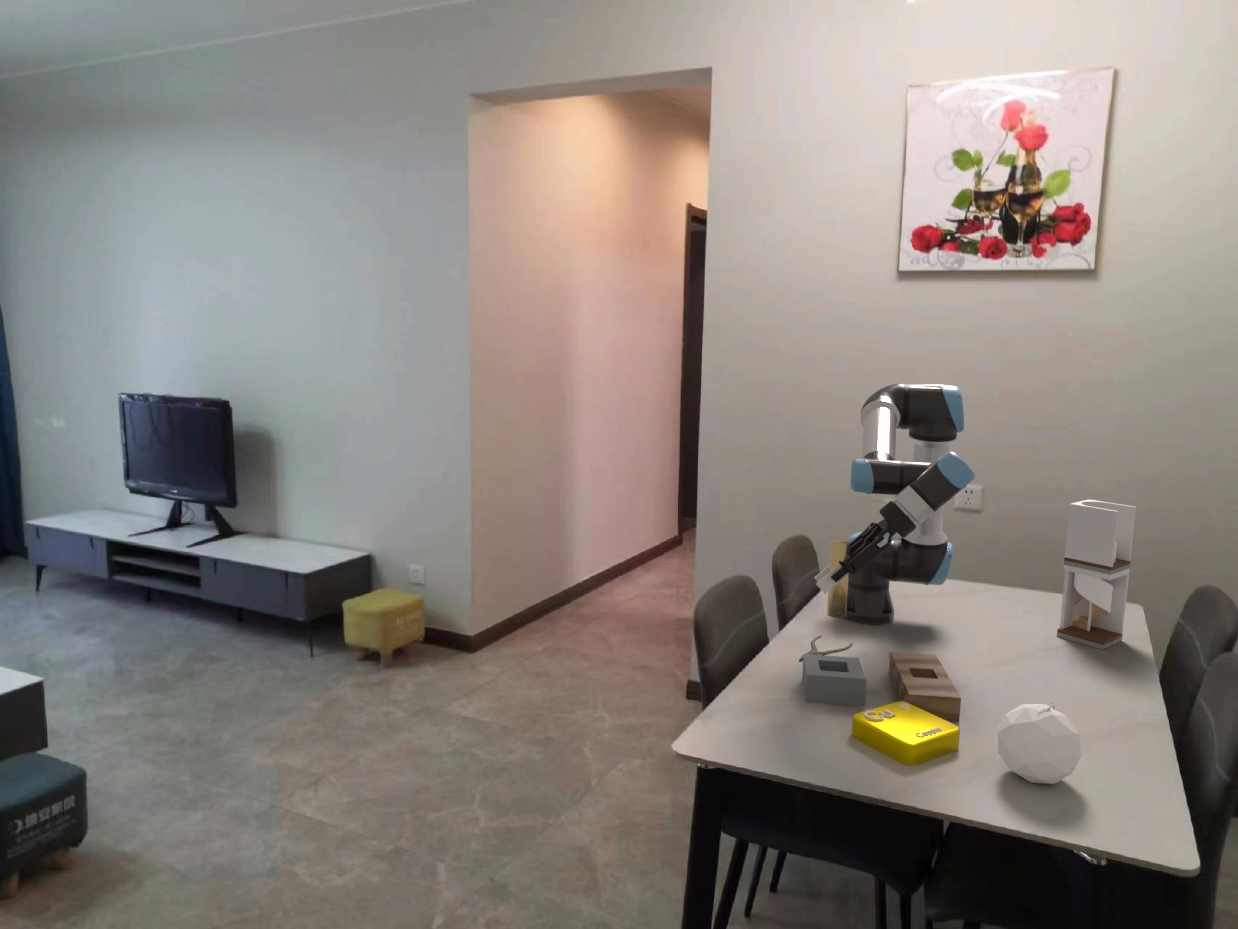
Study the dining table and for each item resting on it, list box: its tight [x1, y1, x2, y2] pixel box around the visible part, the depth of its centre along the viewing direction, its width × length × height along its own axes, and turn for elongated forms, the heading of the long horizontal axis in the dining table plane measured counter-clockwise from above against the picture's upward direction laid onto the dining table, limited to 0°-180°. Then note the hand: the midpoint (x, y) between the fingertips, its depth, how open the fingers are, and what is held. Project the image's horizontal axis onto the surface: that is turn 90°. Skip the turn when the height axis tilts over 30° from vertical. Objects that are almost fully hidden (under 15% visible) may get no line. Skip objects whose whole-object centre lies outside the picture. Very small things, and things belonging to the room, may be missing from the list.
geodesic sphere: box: [997, 702, 1082, 785], centre depth 153 cm, size 14×14×14 cm
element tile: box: [851, 700, 961, 767], centre depth 166 cm, size 15×15×5 cm
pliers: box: [798, 635, 854, 663], centre depth 213 cm, size 10×1×20 cm
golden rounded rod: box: [826, 538, 850, 619], centre depth 185 cm, size 4×4×16 cm
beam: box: [888, 651, 962, 722], centre depth 187 cm, size 24×10×5 cm, turn 172°
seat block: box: [801, 653, 867, 707], centre depth 188 cm, size 12×12×6 cm
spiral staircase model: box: [1056, 499, 1137, 650], centre depth 222 cm, size 11×11×35 cm
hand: (819, 585), depth 185 cm, fingers closed on golden rounded rod, 4 cm apart
